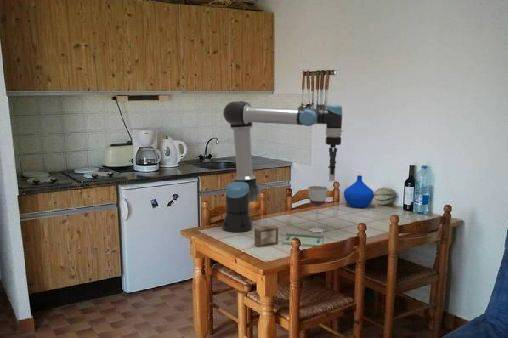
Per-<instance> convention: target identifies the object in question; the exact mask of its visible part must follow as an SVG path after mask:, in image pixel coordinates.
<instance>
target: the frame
mask: <svg viewBox="0 0 508 338" xmlns="http://www.w3.org/2000/svg"><path fill="white" fill-rule="evenodd" d="M278 244H279V227H278V226H276V225H267V226H260V227H254V246H256V247H257V246H258V247H257V248H263V247H269V245H270V246H275V245H278Z"/></svg>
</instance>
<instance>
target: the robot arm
mask: <svg viewBox="0 0 508 338" xmlns="http://www.w3.org/2000/svg"><path fill="white" fill-rule="evenodd" d="M223 118H224V120H225V121H226V122H227V123H229V125H230V127H229V128H230V129H231V130H232V131H233V140H234V155H235V167H236V176H235V177H234V181H233V182H229V183H228V184H227V185H226V187H225V217H224V219H223V223H222V230H224V231H226V232H227V233H228V232H230V233H245V232H249V231H252V229H253V223H252V219H251V217H250V214H249V213H250V210H249V209H250V205H249V204H250V203H251V202H253V201H254V200H255V199H256V198H257V197H258V196H259V193H260V186H259V184H258V183H257V177H256V176H255V175H254V172H253V160H252V159H253V155H252V144H251V129H252V128H253V123H258V124H259V123H260V124H276V125H293V126H294V125H297V126H305V127H311V126H313V125H326V126H325V127H326V128H325V144H326V145H329V146H330V147H328V152H329V165H328V166H327V167H328V169H329V170H328V171H329V172H328V173H329V174H328V177H329V178H328V181H329V182H335V181H336V178H335V177H336V164H337V161H336V157H337V152H338V148H337V147H336V146H340V145H341V144H342V137H341V136H342V133H343V132H344V130H343V129H342V126H343V125H342V123H343V107H342V105H340V104H328V105H326V108H324V109H323V108H287V107H286V108H282V107H265V106H263V107H261V106H253V105H252V104H250V103H249V102H247V101H244V100H243V101H242V100H238V101H230V102H228V103H227V104H226V105H225V106H224V108H223Z"/></svg>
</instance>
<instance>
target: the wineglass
mask: <svg viewBox="0 0 508 338" xmlns="http://www.w3.org/2000/svg"><path fill="white" fill-rule="evenodd" d="M307 189H308V198H309V202H310V203H311V204H312V205H313V206H314V207H316V212H315V214H316V215H315V227H311V228H312V229H311V228H309V229H310V230H311V231H313V232H312V233H314V232H321V233H324V232H325V231H324V230H325V228H321V229H320V227H318V226H319V225H318V224H319V207H320V206H322V205H324V204H325V203H326V200H327V195H328V187H325V186H318V185H314V186H312V185H311V186H308V188H307ZM323 231H324V232H323Z"/></svg>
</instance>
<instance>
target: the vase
mask: <svg viewBox="0 0 508 338" xmlns="http://www.w3.org/2000/svg"><path fill="white" fill-rule="evenodd" d="M343 198H344V200H345V202H346V204H348V205H349V206H350V207H352V208H356V209H364V208H367V207H369V206H370V204H372V202H373V201H374V198H375V192H374V190H373V189H372V188H370V187H369V186H368V185H367V184H365V183H364V181H363V175H361V174H360V175H359V174H358V175H357V176H356V181H355V182H354V183H352V184H351V185H350V186H348V187H346V188H345V189H344V191H343Z"/></svg>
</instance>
